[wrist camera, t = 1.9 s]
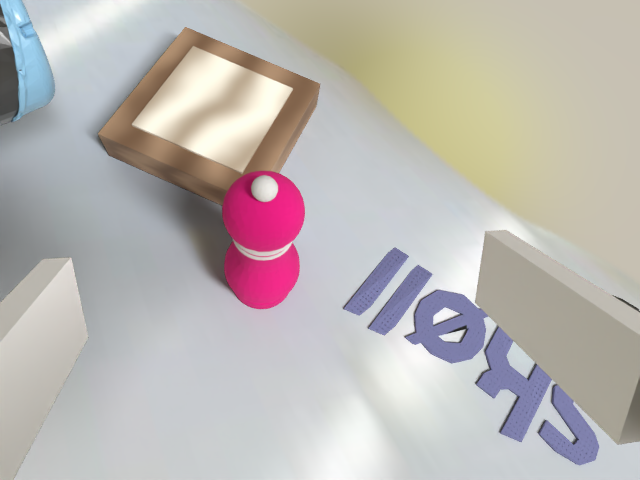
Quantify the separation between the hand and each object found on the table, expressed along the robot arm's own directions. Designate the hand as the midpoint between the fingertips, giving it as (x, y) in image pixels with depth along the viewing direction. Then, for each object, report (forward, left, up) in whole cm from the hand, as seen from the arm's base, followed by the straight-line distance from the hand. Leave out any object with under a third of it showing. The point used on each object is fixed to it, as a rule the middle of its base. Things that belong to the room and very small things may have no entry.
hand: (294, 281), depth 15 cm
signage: (+19, +11, -32) cm, 39 cm away
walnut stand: (-18, +24, -32) cm, 44 cm away
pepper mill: (-5, +9, -32) cm, 34 cm away
